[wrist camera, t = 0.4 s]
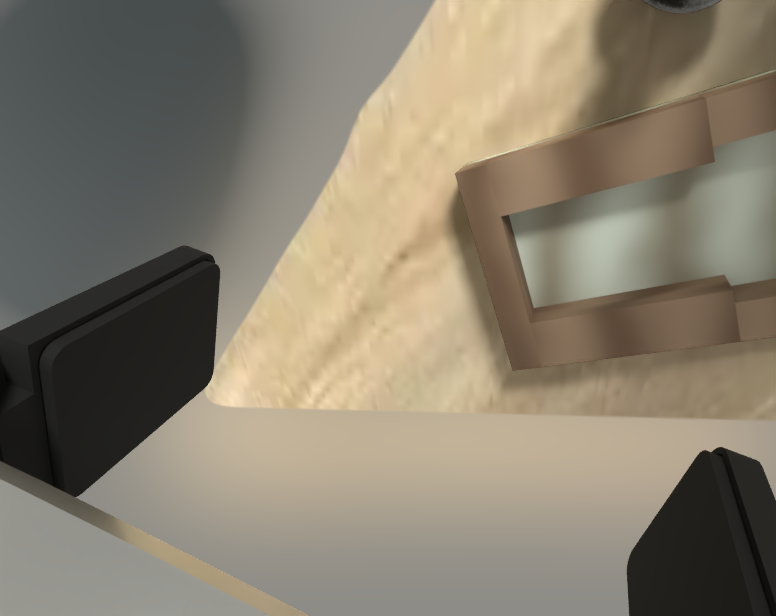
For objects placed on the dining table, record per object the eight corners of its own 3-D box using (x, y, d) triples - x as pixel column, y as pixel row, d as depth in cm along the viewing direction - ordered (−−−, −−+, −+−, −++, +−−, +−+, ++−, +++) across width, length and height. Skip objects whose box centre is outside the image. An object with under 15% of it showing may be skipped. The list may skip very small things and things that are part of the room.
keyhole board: (943, 17, 26) (988, 12, 23) (946, 284, 30) (985, 309, 27) (466, 163, 36) (455, 173, 33) (518, 347, 40) (512, 370, 37)
